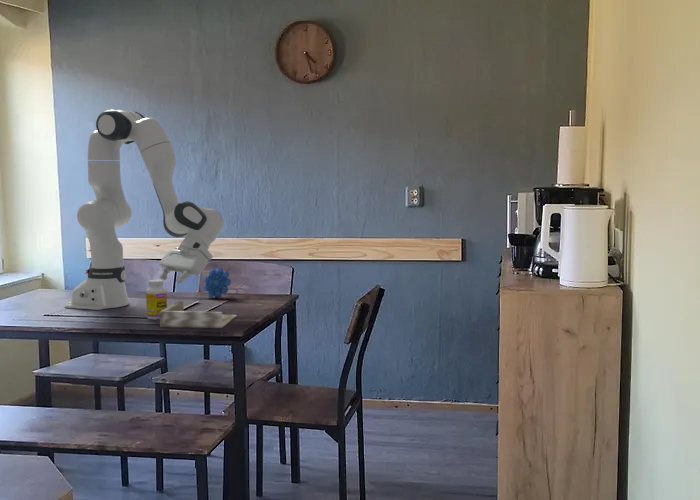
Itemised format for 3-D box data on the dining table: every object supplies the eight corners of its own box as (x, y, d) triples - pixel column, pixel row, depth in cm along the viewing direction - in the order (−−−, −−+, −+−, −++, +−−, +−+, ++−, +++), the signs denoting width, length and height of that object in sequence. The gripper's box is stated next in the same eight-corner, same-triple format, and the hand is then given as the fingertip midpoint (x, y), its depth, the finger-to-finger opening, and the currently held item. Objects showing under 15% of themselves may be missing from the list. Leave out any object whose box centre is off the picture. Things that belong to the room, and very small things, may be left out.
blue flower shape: (236, 296, 282) (235, 266, 280) (228, 300, 275) (227, 268, 274) (209, 295, 285) (208, 265, 284) (201, 298, 279) (200, 267, 277)
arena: (160, 327, 231) (159, 311, 230) (179, 315, 248) (179, 300, 248) (221, 328, 228) (220, 312, 228) (236, 316, 246) (236, 301, 245)
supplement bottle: (156, 321, 239) (155, 282, 238) (142, 318, 243) (141, 281, 241) (171, 317, 245) (170, 279, 244) (157, 315, 249) (156, 278, 247)
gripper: (169, 241, 258) (146, 272, 251) (205, 245, 244) (182, 277, 238) (180, 252, 261) (158, 283, 255) (216, 257, 248) (193, 289, 242)
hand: (170, 280), depth 247 cm, fingers open, 8 cm apart
